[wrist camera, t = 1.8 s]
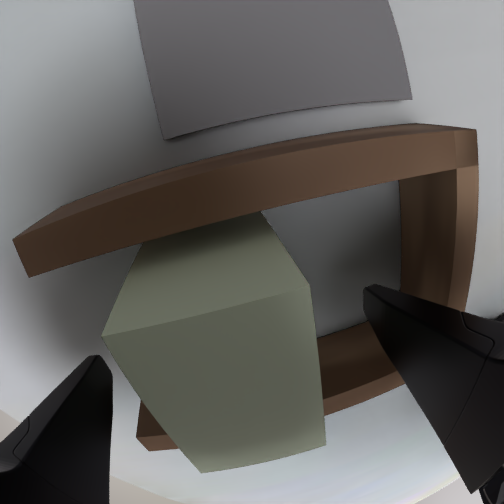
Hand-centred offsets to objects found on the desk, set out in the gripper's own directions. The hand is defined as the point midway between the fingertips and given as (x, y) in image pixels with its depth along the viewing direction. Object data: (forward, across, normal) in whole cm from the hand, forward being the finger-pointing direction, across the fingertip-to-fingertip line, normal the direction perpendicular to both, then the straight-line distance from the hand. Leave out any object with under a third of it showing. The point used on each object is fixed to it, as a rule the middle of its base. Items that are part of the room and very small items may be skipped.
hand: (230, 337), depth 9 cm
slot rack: (+3, -2, 0) cm, 4 cm away
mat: (+3, -4, -10) cm, 12 cm away
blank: (+3, 0, 0) cm, 3 cm away
